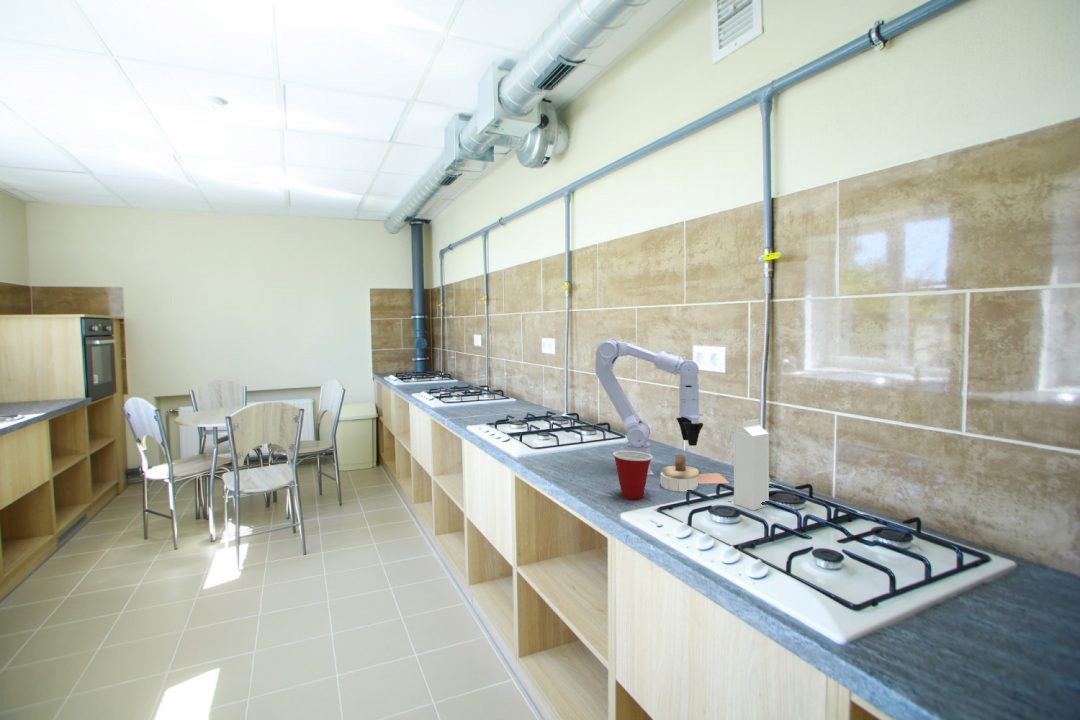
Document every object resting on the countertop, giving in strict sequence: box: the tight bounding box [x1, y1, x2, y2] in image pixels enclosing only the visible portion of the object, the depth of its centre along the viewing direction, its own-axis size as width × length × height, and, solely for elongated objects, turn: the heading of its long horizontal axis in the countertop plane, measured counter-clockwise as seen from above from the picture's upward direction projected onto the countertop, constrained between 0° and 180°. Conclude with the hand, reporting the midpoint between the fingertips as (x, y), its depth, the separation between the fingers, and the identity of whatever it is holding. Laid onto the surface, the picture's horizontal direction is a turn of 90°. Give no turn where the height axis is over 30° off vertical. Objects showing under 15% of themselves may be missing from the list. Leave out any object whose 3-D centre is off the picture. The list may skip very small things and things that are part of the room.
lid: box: [662, 454, 700, 479], centre depth 146 cm, size 10×10×5 cm
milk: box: [733, 419, 770, 511], centre depth 131 cm, size 6×6×22 cm
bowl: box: [660, 471, 699, 492], centre depth 147 cm, size 10×10×4 cm
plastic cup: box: [612, 450, 654, 501], centre depth 140 cm, size 11×11×12 cm
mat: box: [698, 472, 730, 485], centre depth 153 cm, size 10×10×1 cm
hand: (689, 442), depth 158 cm, fingers open, 7 cm apart
